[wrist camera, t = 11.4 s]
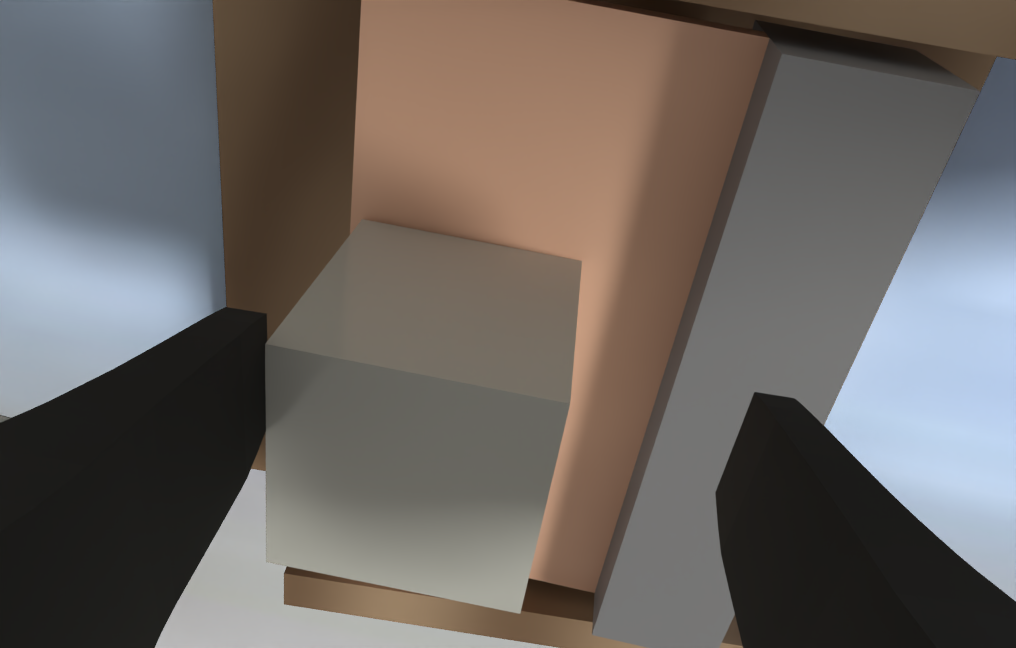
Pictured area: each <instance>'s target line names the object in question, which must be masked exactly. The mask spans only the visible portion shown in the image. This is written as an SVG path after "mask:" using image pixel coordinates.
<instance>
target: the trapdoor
mask: <svg viewBox="0 0 1016 648" xmlns="http://www.w3.org/2000/svg"><path fill="white" fill-rule="evenodd" d="M979 93H980V91H979V90H978V89H976V88H975V87H973V86H971V85H970V84H968V83H967V82H965V81H964V80H962V79H961V78H959V77H957V76H956V75H954V74H953V73H951V72H950V71H948V70H946V69H945V68H943V67H942V66H940V65H939V64H937V63H936V62H934V61H932V60H931V59H929V58H928V57H926V56H925V55H923V54H921V53H920V52H918V51H917V50H915V49H909V48H904V47H899V46H893V45H888V44H883V43H877V42H872V41H866V40H861V39H856V38H850V37H845V36H840V35H834V34H829V33H824V32H818V31H813V30H808V29H802V28H797V27H791V26H786V25H781V24H775V23H770V22H765V21H759V20H755V22H754V25H753V29H747V28H741V27H736V26H731V25H725V24H720V23H715V22H709V21H704V20H699V19H693V18H688V17H683V16H677V15H672V14H667V13H661V12H656V11H651V10H645V9H640V8H635V7H629V6H624V5H618V4H613V3H608V2H602V1H597V0H361V17H360V37H359V58H358V78H357V99H356V119H355V140H354V160H353V181H352V201H351V222H350V234H351V233H352V232H353V230H354V229H355V228H356V227H357V225H358V224H359V223H360V221H361V220H362V219H365V220H370V221H375V222H380V223H385V224H391V225H396V226H401V227H406V228H412V229H417V230H422V231H427V232H433V233H438V234H443V235H448V236H454V237H459V238H464V239H469V240H475V241H480V242H485V243H490V244H496V245H501V246H506V247H511V248H517V249H522V250H527V251H532V252H538V253H543V254H548V255H553V256H559V257H564V258H569V259H574V260H579V261H582V267H581V280H580V292H579V304H578V316H577V328H576V340H575V352H574V364H573V376H572V389H571V401H570V407H569V411H568V415H567V419H566V424H565V428H564V432H563V436H562V440H561V445H560V449H559V453H558V457H557V461H556V466H555V470H554V474H553V478H552V482H551V487H550V491H549V495H548V499H547V503H546V508H545V512H544V516H543V520H542V524H541V529H540V533H539V537H538V541H537V545H536V550H535V554H534V558H533V562H532V566H531V571H530V575H529V578H530V579H535V580H539V581H544V582H548V583H553V584H557V585H562V586H566V587H570V588H575V589H579V590H584V591H588V592H593V593H595V594H594V609H593V625H592V635H594V636H599V637H603V638H607V639H612V640H616V641H620V642H625V643H629V644H634V645H638V646H642V647H647V648H719V647H720V645H721V643H722V641H723V639H724V637H725V634H726V632H727V630H728V628H729V626H730V624H731V622H732V620H733V617H734V615H735V612H734V608H733V604H732V600H731V596H730V591H729V587H728V583H727V578H726V574H725V570H724V565H723V561H722V556H721V549H720V540H719V531H718V520H717V508H716V495H715V492H716V490H717V487H718V484H719V482H720V479H721V477H722V474H723V472H724V469H725V466H726V464H727V461H728V459H729V456H730V454H731V451H732V448H733V446H734V443H735V441H736V438H737V436H738V433H739V430H740V428H741V425H742V423H743V420H744V417H745V415H746V412H747V410H748V407H749V405H750V402H751V399H752V397H753V394H754V392H759V393H765V394H771V395H778V396H784V397H790V398H795V399H796V400H797V401H799V402H800V403H801V404H802V405H803V406H804V407H805V408H806V409H807V410H808V411H809V412H811V413H812V414H813V415H814V416H815V417H816V418H817V419H818V420H819V421H820V422H821V423H822V424H823V425H824V423H825V421H826V419H827V417H828V415H829V413H830V411H831V408H832V406H833V404H834V402H835V400H836V398H837V396H838V393H839V391H840V389H841V387H842V385H843V383H844V381H845V379H846V376H847V374H848V372H849V370H850V368H851V366H852V364H853V361H854V359H855V357H856V355H857V353H858V351H859V349H860V347H861V344H862V342H863V340H864V338H865V336H866V334H867V332H868V330H869V327H870V325H871V323H872V321H873V319H874V317H875V315H876V312H877V310H878V308H879V306H880V304H881V302H882V300H883V298H884V295H885V293H886V291H887V289H888V287H889V285H890V283H891V280H892V278H893V276H894V274H895V272H896V270H897V268H898V266H899V263H900V261H901V259H902V257H903V255H904V253H905V251H906V248H907V246H908V244H909V242H910V240H911V238H912V236H913V234H914V231H915V229H916V227H917V225H918V223H919V221H920V219H921V216H922V214H923V212H924V210H925V208H926V206H927V204H928V202H929V199H930V197H931V195H932V193H933V191H934V189H935V187H936V185H937V182H938V180H939V178H940V176H941V174H942V172H943V170H944V167H945V165H946V163H947V161H948V159H949V157H950V155H951V153H952V150H953V148H954V146H955V144H956V142H957V140H958V138H959V135H960V133H961V131H962V129H963V127H964V125H965V123H966V121H967V118H968V116H969V114H970V112H971V110H972V108H973V106H974V103H975V101H976V99H977V97H978V95H979Z"/></svg>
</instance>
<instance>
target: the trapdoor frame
mask: <svg viewBox="0 0 1016 648" xmlns="http://www.w3.org/2000/svg"><path fill="white" fill-rule="evenodd" d="M597 1H602V2H608V3H613V4H618V5H624V6H629V7H635V8H640V9H645V10H651V11H656V12H661V13H667V14H672V15H677V16H683V17H688V18H693V19H699V20H704V21H709V22H715V23H720V24H725V25H731V26H736V27H741V28H747V29H753V25H754V22H755V20H759V21H765V22H770V23H775V24H781V25H786V26H791V27H797V28H802V29H808V30H813V31H818V32H824V33H829V34H834V35H840V36H845V37H850V38H856V39H861V40H866V41H872V42H877V43H883V44H888V45H893V46H899V47H904V48H909V49H915V50H917V51H918V52H920V53H921V54H923V55H925V56H926V57H928V58H929V59H931V60H932V61H934V62H936V63H937V64H939V65H940V66H942V67H943V68H945V69H946V70H948V71H950V72H951V73H953V74H954V75H956V76H957V77H959V78H961V79H962V80H964V81H965V82H967V83H968V84H970V85H971V86H973V87H975V88H976V89H978V90H979V91H981V89H982V87H983V85H984V83H985V81H986V78H987V76H988V74H989V72H990V70H991V68H992V66H993V64H994V61H995V59H996V57H997V56H998V57H1003V58H1009V59H1015V60H1016V0H597ZM360 17H361V0H213V21H214V43H215V65H216V87H217V109H218V130H219V152H220V174H221V196H222V218H223V240H224V262H225V284H226V306H227V307H229V308H236V309H242V310H248V311H254V312H261V313H267V341H268V340H269V338H270V337H271V336H272V335H273V333H274V332H275V331H276V329H277V328H278V327H279V326H280V324H281V323H282V322H283V320H284V319H285V318H286V317H287V315H288V314H289V313H290V311H291V310H292V309H293V308H294V306H295V305H296V304H297V302H298V301H299V300H300V299H301V297H302V296H303V295H304V293H305V292H306V291H307V290H308V288H309V287H310V286H311V284H312V283H313V282H314V281H315V279H316V278H317V277H318V275H319V274H320V273H321V272H322V270H323V269H324V268H325V266H326V265H327V264H328V263H329V261H330V260H331V259H332V257H333V256H334V255H335V254H336V252H337V251H338V250H339V248H340V247H341V246H342V245H343V243H344V242H345V241H346V239H347V238H348V237H349V236H350V222H351V201H352V181H353V160H354V140H355V119H356V99H357V78H358V58H359V37H360ZM978 96H979V95H978ZM977 98H978V97H977ZM976 100H977V99H976ZM975 102H976V101H975ZM974 104H975V103H974ZM970 113H971V112H970ZM969 115H970V114H969ZM968 117H969V116H968ZM967 119H968V118H967ZM963 128H964V127H963ZM962 130H963V129H962ZM961 132H962V131H961ZM960 134H961V133H960ZM959 136H960V135H959ZM955 145H956V144H955ZM954 147H955V146H954ZM953 149H954V148H953ZM952 151H953V150H952ZM947 162H948V161H947ZM946 164H947V163H946ZM945 166H946V165H945ZM944 168H945V167H944ZM940 177H941V176H940ZM939 179H940V178H939ZM938 181H939V180H938ZM937 183H938V182H937ZM932 194H933V193H932ZM931 196H932V195H931ZM930 198H931V197H930ZM929 200H930V199H929ZM925 209H926V208H925ZM924 211H925V210H924ZM923 213H924V212H923ZM922 215H923V214H922ZM921 217H922V216H921ZM917 226H918V225H917ZM916 228H917V227H916ZM915 230H916V229H915ZM914 232H915V231H914ZM909 243H910V242H909ZM908 245H909V244H908ZM907 247H908V246H907ZM906 249H907V248H906ZM902 258H903V257H902ZM901 260H902V259H901ZM900 262H901V261H900ZM899 264H900V263H899ZM894 275H895V274H894ZM893 277H894V276H893ZM892 279H893V278H892ZM891 281H892V280H891ZM887 290H888V289H887ZM886 292H887V291H886ZM885 294H886V293H885ZM884 296H885V295H884ZM879 307H880V306H879ZM878 309H879V308H878ZM877 311H878V310H877ZM876 313H877V312H876ZM871 324H872V323H871ZM870 326H871V325H870ZM869 328H870V327H869ZM864 339H865V338H864ZM863 341H864V340H863ZM862 343H863V342H862ZM861 345H862V344H861ZM856 356H857V355H856ZM855 358H856V357H855ZM854 360H855V359H854ZM853 362H854V361H853ZM849 371H850V370H849ZM848 373H849V372H848ZM847 375H848V374H847ZM846 377H847V376H846ZM841 388H842V387H841ZM840 390H841V389H840ZM839 392H840V391H839ZM838 394H839V393H838ZM833 405H834V404H833ZM832 407H833V406H832ZM831 409H832V408H831ZM826 420H827V419H826ZM825 422H826V421H825ZM824 424H825V423H824ZM251 469H257V470H263V471H266V432H265V434H264V437H263V440H262V442H261V445H260V447H259V450H258V453H257V455H256V458H255V460H254V462H253V465H252V467H251ZM594 594H595V593H593V592H588V591H584V590H579V589H575V588H570V587H566V586H562V585H557V584H553V583H548V582H544V581H539V580H535V579H530V578H529V579H528V583H527V587H526V592H525V596H524V600H523V604H522V608H521V613H520V614H519V613H514V612H509V611H504V610H499V609H494V608H489V607H484V606H479V605H474V604H469V603H465V602H460V601H455V600H450V599H445V598H440V597H435V596H430V595H425V594H420V593H416V592H411V591H406V590H401V589H396V588H391V587H386V586H381V585H376V584H371V583H366V582H362V581H357V580H352V579H347V578H342V577H337V576H332V575H327V574H322V573H317V572H313V571H308V570H303V569H298V568H293V567H288V566H287V567H286V570H285V572H284V604H286V605H292V606H299V607H305V608H311V609H318V610H324V611H330V612H337V613H343V614H349V615H356V616H362V617H368V618H375V619H381V620H387V621H394V622H400V623H406V624H413V625H419V626H426V627H432V628H438V629H445V630H451V631H457V632H464V633H470V634H476V635H483V636H489V637H495V638H502V639H508V640H514V641H521V642H527V643H533V644H540V645H546V646H552V647H559V648H647V647H642V646H638V645H634V644H629V643H625V642H620V641H616V640H612V639H607V638H603V637H599V636H594V635H592V625H593V609H594ZM719 648H743V646H742V641H741V637H740V633H739V629H738V625H737V621H736V617H735V615H734V617H733V620H732V622H731V624H730V626H729V628H728V630H727V632H726V634H725V637H724V639H723V641H722V643H721V645H720V647H719Z"/></svg>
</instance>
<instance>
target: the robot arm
mask: <svg viewBox="0 0 1016 648" xmlns="http://www.w3.org/2000/svg"><path fill="white" fill-rule="evenodd" d="M266 342H267V313H261V312H254V311H248V310H242V309H236V308H229V307H225V308H223V309H221V310H219V311H217V312H215V313H213V314H211V315H209V316H207V317H206V318H204V319H202V320H200V321H198V322H197V323H195V324H193V325H191V326H190V327H188V328H186V329H184V330H183V331H181V332H179V333H177V334H176V335H174V336H172V337H170V338H169V339H167V340H165V341H163V342H162V343H160V344H158V345H156V346H154V347H153V348H151V349H149V350H147V351H145V352H144V353H142V354H140V355H138V356H136V357H135V358H133V359H131V360H129V361H127V362H126V363H124V364H122V365H120V366H118V367H116V368H115V369H113V370H111V371H109V372H107V373H105V374H103V375H101V376H99V377H97V378H95V379H93V380H91V381H89V382H87V383H85V384H83V385H81V386H79V387H77V388H75V389H73V390H71V391H69V392H67V393H65V394H63V395H61V396H59V397H57V398H55V399H53V400H51V401H49V402H46V403H44V404H42V405H40V406H38V407H35V408H33V409H31V410H29V411H26V412H24V413H22V414H20V415H17V416H15V417H13V418H10V419H8V420H5V421H3V422H0V648H155V645H156V643H157V641H158V639H159V636H160V634H161V632H162V630H163V628H164V626H165V624H166V622H167V621H168V619H169V617H170V615H171V613H172V611H173V609H174V607H175V605H176V603H177V601H178V600H179V598H180V596H181V594H182V593H183V591H184V589H185V587H186V586H187V584H188V582H189V580H190V579H191V577H192V575H193V573H194V572H195V570H196V568H197V566H198V565H199V563H200V561H201V559H202V557H203V556H204V554H205V552H206V550H207V549H208V547H209V545H210V543H211V542H212V540H213V538H214V536H215V535H216V533H217V531H218V529H219V528H220V526H221V524H222V522H223V521H224V519H225V517H226V515H227V513H228V512H229V510H230V508H231V506H232V505H233V503H234V501H235V499H236V497H237V496H238V494H239V492H240V490H241V488H242V486H243V485H244V483H245V481H246V479H247V477H248V474H249V472H250V470H251V467H252V465H253V462H254V460H255V458H256V455H257V453H258V450H259V447H260V445H261V442H262V440H263V437H264V434H265V432H266V390H265V344H266ZM715 495H716V508H717V520H718V531H719V540H720V549H721V556H722V561H723V565H724V570H725V574H726V578H727V583H728V587H729V591H730V596H731V600H732V604H733V608H734V612H735V617H736V621H737V625H738V629H739V633H740V637H741V641H742V646H743V648H1016V601H1014V600H1013V599H1012V598H1010V597H1009V596H1008V595H1007V594H1005V593H1004V592H1003V591H1002V590H1000V589H999V588H998V587H997V586H995V585H994V584H993V583H991V582H990V581H989V580H988V579H986V578H985V577H984V576H983V575H981V574H980V573H979V572H978V571H976V570H975V569H974V568H973V567H972V566H970V565H969V564H968V563H967V562H966V561H964V560H963V559H962V558H961V557H960V556H958V555H957V554H956V553H955V552H954V551H953V550H952V549H950V548H949V547H948V546H947V545H946V544H945V543H944V542H943V541H942V540H940V539H939V538H938V537H937V536H936V535H935V534H934V533H933V532H932V531H930V530H929V529H928V528H927V527H926V526H925V525H924V524H923V523H922V522H920V521H919V520H918V519H917V518H916V517H915V516H914V515H913V514H912V513H911V512H910V511H909V510H908V509H907V508H905V507H904V506H903V505H902V504H901V503H900V502H899V501H898V500H897V499H896V498H895V497H894V496H893V495H892V494H891V493H890V492H889V491H888V490H887V489H886V488H885V487H884V486H883V485H882V484H881V483H880V482H879V481H878V480H877V479H876V478H875V477H874V476H873V475H872V474H871V473H870V472H869V471H868V470H867V469H866V468H865V467H864V466H863V465H862V464H861V463H860V462H859V461H858V460H857V459H856V458H855V457H854V456H853V455H852V454H851V453H850V452H849V451H848V450H847V449H846V448H845V447H844V446H843V445H842V444H841V443H840V442H839V441H838V440H837V439H836V438H835V437H834V436H833V435H832V434H831V433H830V432H829V430H828V429H827V428H826V427H825V426H824V425H823V424H822V423H821V422H820V421H819V420H818V419H817V418H816V417H815V416H814V415H813V414H812V413H811V412H809V411H808V410H807V409H806V408H805V407H804V406H803V405H802V404H801V403H800V402H799V401H797V400H796V399H795V398H790V397H784V396H778V395H771V394H765V393H759V392H754V394H753V397H752V399H751V402H750V405H749V407H748V410H747V412H746V415H745V417H744V420H743V423H742V425H741V428H740V430H739V433H738V436H737V438H736V441H735V443H734V446H733V448H732V451H731V454H730V456H729V459H728V461H727V464H726V466H725V469H724V472H723V474H722V477H721V479H720V482H719V484H718V487H717V490H716V492H715Z"/></svg>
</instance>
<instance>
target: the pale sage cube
mask: <svg viewBox="0 0 1016 648" xmlns="http://www.w3.org/2000/svg"><path fill="white" fill-rule="evenodd" d="M581 267H582V261H579V260H574V259H569V258H564V257H559V256H553V255H548V254H543V253H538V252H532V251H527V250H522V249H517V248H511V247H506V246H501V245H496V244H490V243H485V242H480V241H475V240H469V239H464V238H459V237H454V236H448V235H443V234H438V233H433V232H427V231H422V230H417V229H412V228H406V227H401V226H396V225H391V224H385V223H380V222H375V221H370V220H365V219H362V220H361V221H360V223H359V224H358V225H357V227H356V228H355V229H354V230H353V232H352V233H351V234H350V236H349V237H348V238H347V239H346V241H345V242H344V243H343V245H342V246H341V247H340V248H339V250H338V251H337V252H336V254H335V255H334V256H333V257H332V259H331V260H330V261H329V263H328V264H327V265H326V266H325V268H324V269H323V270H322V272H321V273H320V274H319V275H318V277H317V278H316V279H315V281H314V282H313V283H312V284H311V286H310V287H309V288H308V290H307V291H306V292H305V293H304V295H303V296H302V297H301V299H300V300H299V301H298V302H297V304H296V305H295V306H294V308H293V309H292V310H291V311H290V313H289V314H288V315H287V317H286V318H285V319H284V320H283V322H282V323H281V324H280V326H279V327H278V328H277V329H276V331H275V332H274V333H273V335H272V336H271V337H270V338H269V340H268V341H267V342H266V344H265V390H266V562H268V563H273V564H278V565H283V566H288V567H293V568H298V569H303V570H308V571H313V572H317V573H322V574H327V575H332V576H337V577H342V578H347V579H352V580H357V581H362V582H366V583H371V584H376V585H381V586H386V587H391V588H396V589H401V590H406V591H411V592H416V593H420V594H425V595H430V596H435V597H440V598H445V599H450V600H455V601H460V602H465V603H469V604H474V605H479V606H484V607H489V608H494V609H499V610H504V611H509V612H514V613H519V614H520V613H521V608H522V604H523V600H524V596H525V592H526V587H527V583H528V579H529V575H530V571H531V566H532V562H533V558H534V554H535V550H536V545H537V541H538V537H539V533H540V529H541V524H542V520H543V516H544V512H545V508H546V503H547V499H548V495H549V491H550V487H551V482H552V478H553V474H554V470H555V466H556V461H557V457H558V453H559V449H560V445H561V440H562V436H563V432H564V428H565V424H566V419H567V415H568V411H569V407H570V401H571V389H572V376H573V364H574V352H575V340H576V328H577V316H578V304H579V292H580V280H581Z"/></svg>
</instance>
